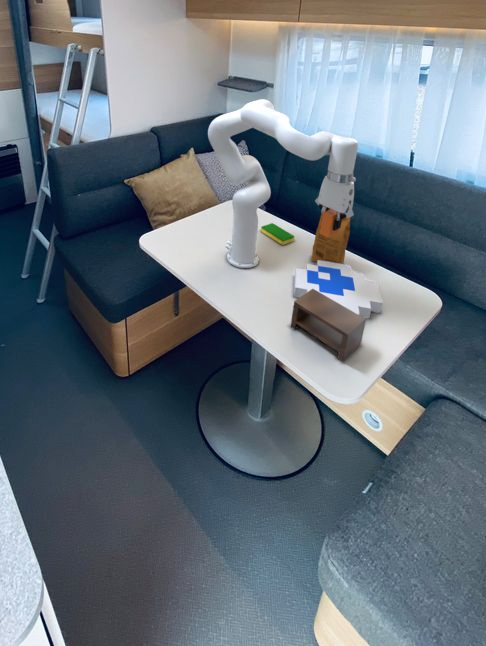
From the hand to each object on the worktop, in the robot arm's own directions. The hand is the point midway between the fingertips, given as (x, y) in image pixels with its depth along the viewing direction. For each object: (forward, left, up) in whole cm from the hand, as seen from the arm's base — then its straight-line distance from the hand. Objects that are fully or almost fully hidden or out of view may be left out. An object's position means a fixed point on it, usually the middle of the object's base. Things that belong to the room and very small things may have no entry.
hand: (330, 226), depth 136 cm
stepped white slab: (+4, +4, -27) cm, 28 cm away
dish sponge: (-34, +20, -27) cm, 48 cm away
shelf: (+13, -17, -27) cm, 34 cm away
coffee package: (-9, +20, -27) cm, 35 cm away
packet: (0, 0, -3) cm, 3 cm away
